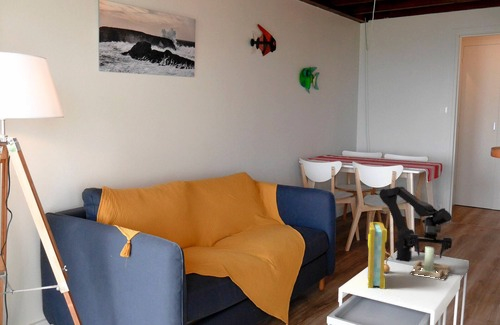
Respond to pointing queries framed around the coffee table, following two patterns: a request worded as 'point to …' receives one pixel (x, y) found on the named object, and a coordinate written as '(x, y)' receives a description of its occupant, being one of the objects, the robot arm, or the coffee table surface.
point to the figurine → (386, 267)
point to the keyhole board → (440, 268)
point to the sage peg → (429, 260)
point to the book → (376, 254)
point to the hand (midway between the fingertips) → (429, 256)
